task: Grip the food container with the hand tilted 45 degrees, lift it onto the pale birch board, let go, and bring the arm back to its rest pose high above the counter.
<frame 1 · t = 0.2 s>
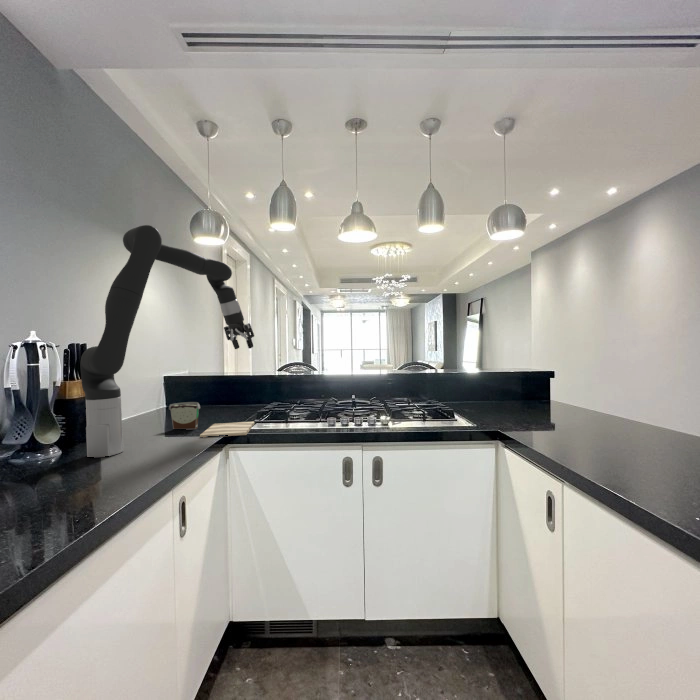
hand: (244, 348, 167), 31 cm above the countertop, tool tilted 20°, fingers open, 8 cm apart
birch board: (229, 430, 149), on the countertop
food container: (188, 428, 157), on the countertop
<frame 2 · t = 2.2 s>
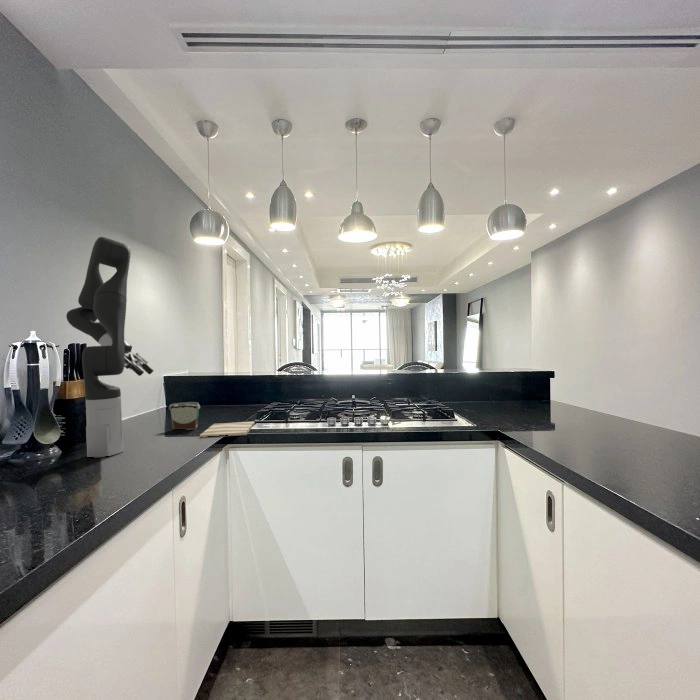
hand: (147, 373, 153), 23 cm above the countertop, tool tilted 45°, fingers open, 8 cm apart
nothing on the countertop moved.
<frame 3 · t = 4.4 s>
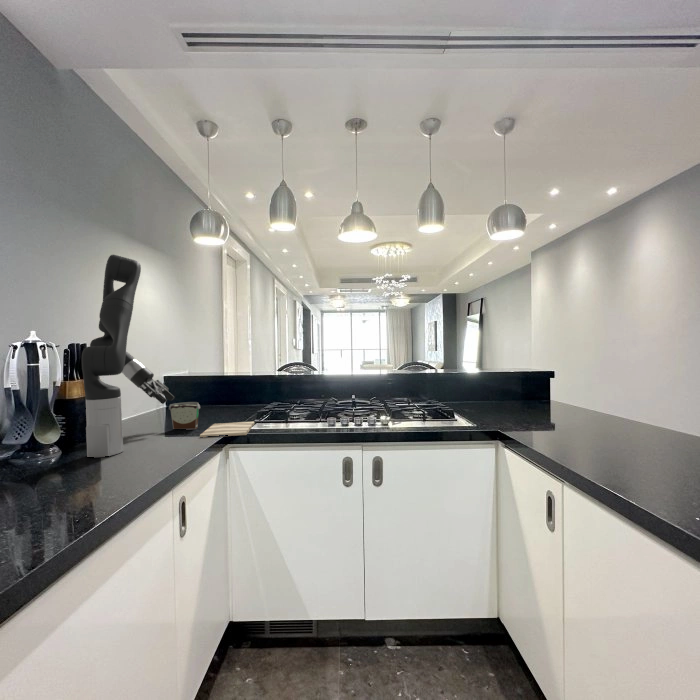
hand: (169, 400, 156), 11 cm above the countertop, tool tilted 45°, fingers open, 8 cm apart
nothing on the countertop moved.
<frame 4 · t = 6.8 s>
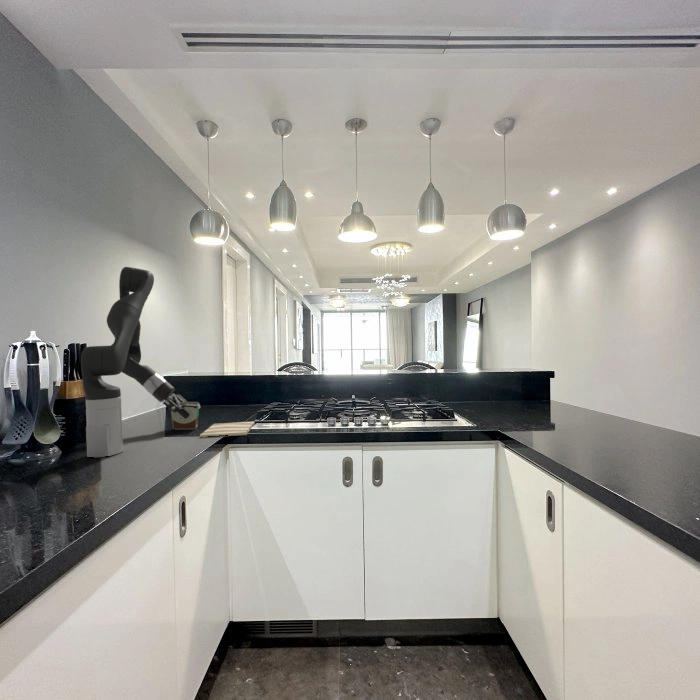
hand: (190, 415, 157), 5 cm above the countertop, tool tilted 45°, fingers closed on food container, 6 cm apart
food container: (188, 428, 157), on the countertop, touching gripper
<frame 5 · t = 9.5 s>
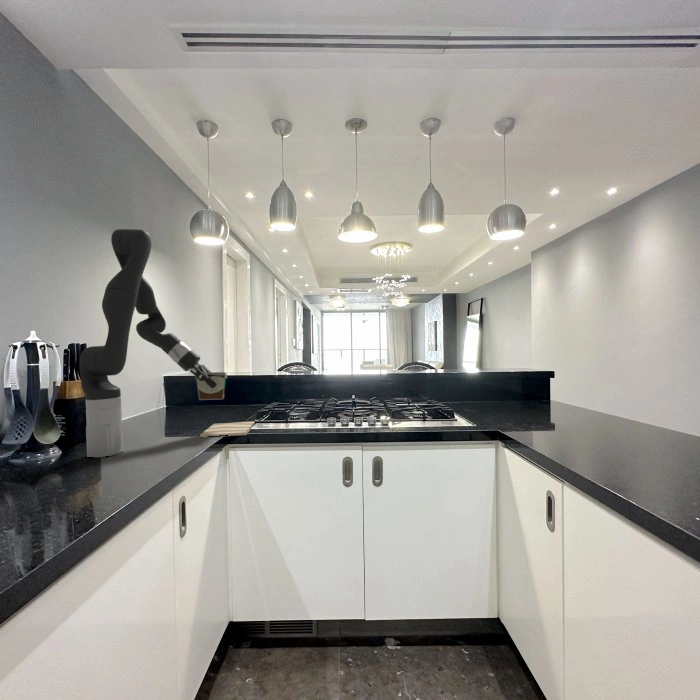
hand: (216, 385, 151), 17 cm above the countertop, tool tilted 45°, fingers closed on food container, 6 cm apart
food container: (214, 399, 151), point 12 cm above the countertop, touching gripper
when the fingers open (7 cm above the countertop, at t = 12.4 s): food container drops 1 cm, resting on birch board.
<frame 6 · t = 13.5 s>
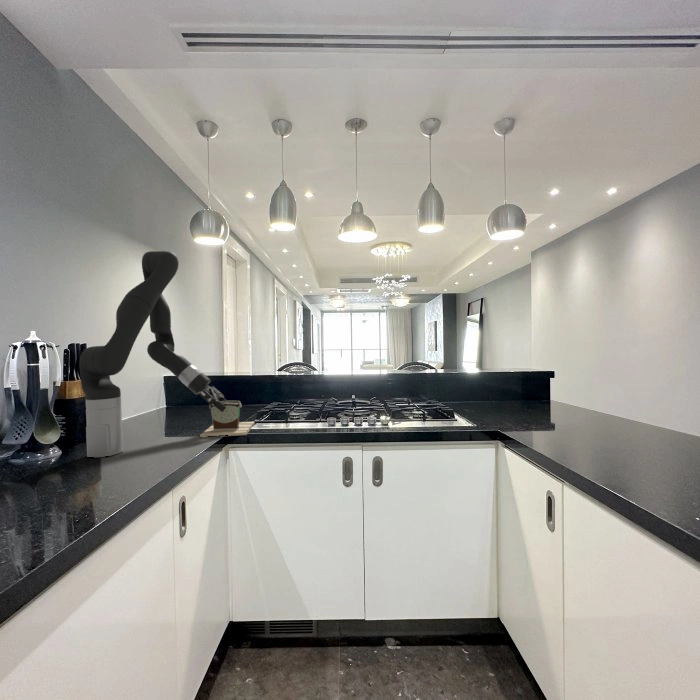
hand: (226, 408, 148), 9 cm above the countertop, tool tilted 45°, fingers open, 8 cm apart
food container: (228, 428, 149), point 1 cm above the countertop, touching birch board, gripper
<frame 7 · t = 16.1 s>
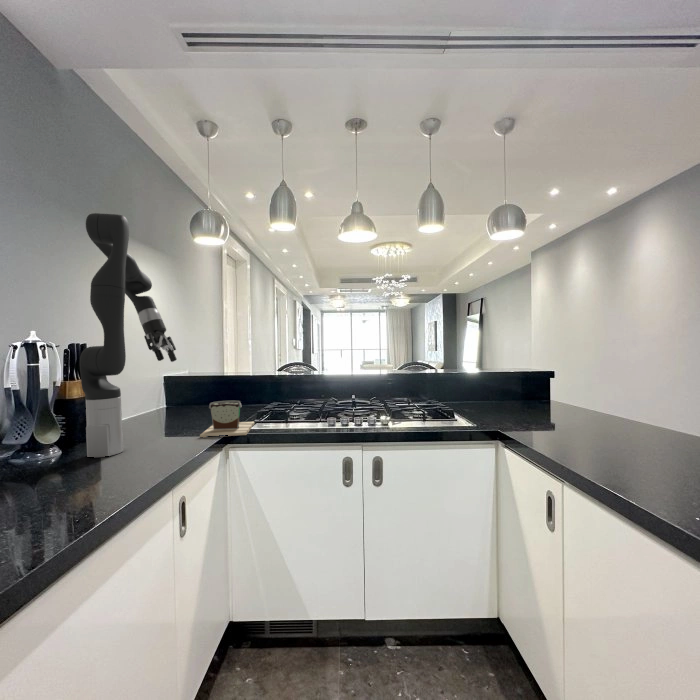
hand: (167, 360, 149), 27 cm above the countertop, tool tilted 25°, fingers open, 8 cm apart
food container: (228, 428, 149), point 1 cm above the countertop, touching birch board
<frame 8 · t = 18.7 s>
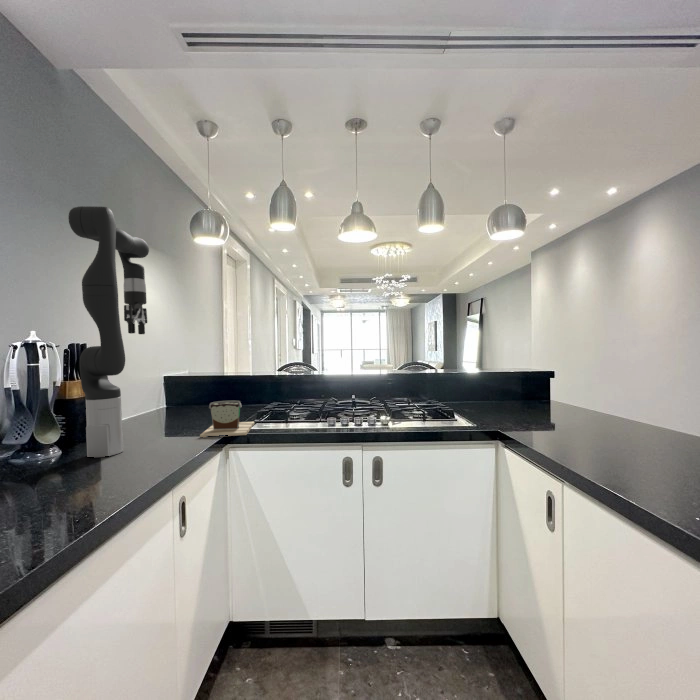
hand: (136, 333, 150), 38 cm above the countertop, tool pointing down, fingers open, 8 cm apart
nothing on the countertop moved.
at the end: food container inside the target area on the birch board (0.4 cm from its centre), point 0.8 cm above the birch board's base; food container tilted 0°; the gripper is holding nothing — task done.
